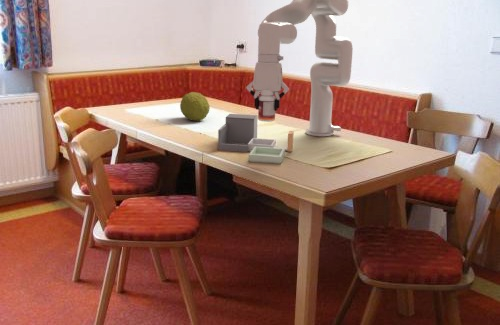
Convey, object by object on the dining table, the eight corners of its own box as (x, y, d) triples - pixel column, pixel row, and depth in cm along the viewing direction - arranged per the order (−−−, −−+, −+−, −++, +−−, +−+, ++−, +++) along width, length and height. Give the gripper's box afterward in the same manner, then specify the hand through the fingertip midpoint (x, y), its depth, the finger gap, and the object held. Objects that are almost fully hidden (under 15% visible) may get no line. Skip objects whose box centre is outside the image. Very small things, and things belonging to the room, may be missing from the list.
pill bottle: (257, 118, 179) (257, 88, 176) (273, 118, 180) (274, 88, 177) (259, 121, 173) (260, 90, 170) (276, 121, 174) (277, 90, 171)
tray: (284, 155, 183) (284, 148, 182) (280, 164, 172) (280, 157, 171) (254, 153, 185) (254, 146, 184) (248, 161, 174) (248, 154, 173)
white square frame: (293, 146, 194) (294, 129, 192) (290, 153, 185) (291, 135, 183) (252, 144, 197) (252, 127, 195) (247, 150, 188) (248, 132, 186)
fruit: (217, 120, 240) (210, 96, 230) (191, 132, 237) (183, 108, 227) (205, 105, 251) (197, 81, 241) (180, 116, 248) (171, 92, 238)
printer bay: (256, 139, 205) (257, 115, 202) (247, 152, 186) (248, 125, 183) (229, 137, 207) (230, 113, 204) (218, 150, 188) (218, 123, 185)
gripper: (294, 59, 172) (291, 109, 177) (246, 57, 175) (245, 106, 180) (291, 60, 165) (289, 112, 170) (242, 58, 168) (241, 109, 173)
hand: (266, 109), depth 175 cm, fingers closed on pill bottle, 6 cm apart
